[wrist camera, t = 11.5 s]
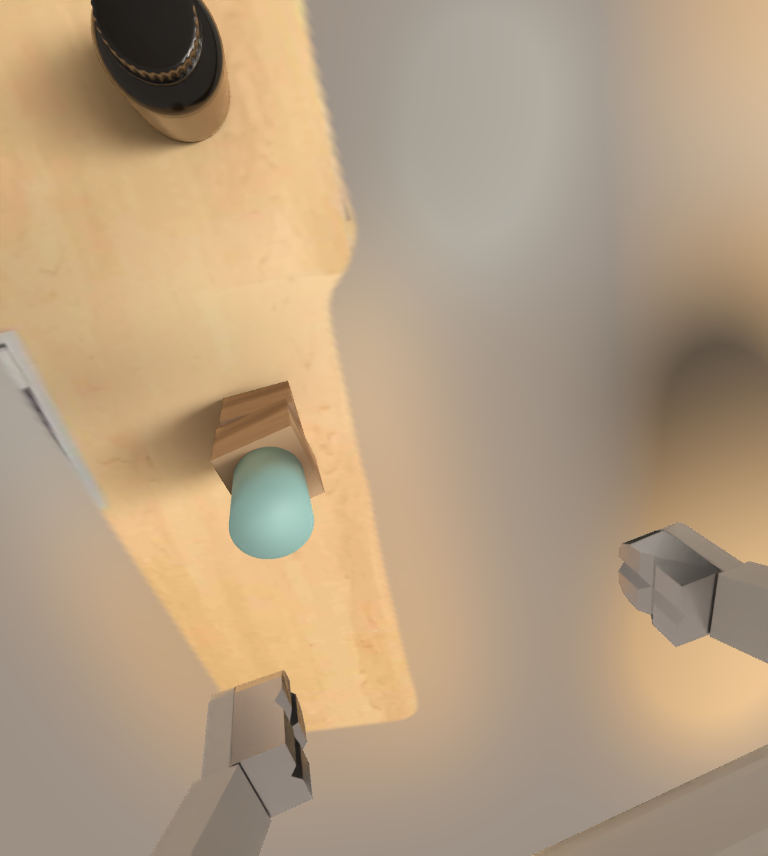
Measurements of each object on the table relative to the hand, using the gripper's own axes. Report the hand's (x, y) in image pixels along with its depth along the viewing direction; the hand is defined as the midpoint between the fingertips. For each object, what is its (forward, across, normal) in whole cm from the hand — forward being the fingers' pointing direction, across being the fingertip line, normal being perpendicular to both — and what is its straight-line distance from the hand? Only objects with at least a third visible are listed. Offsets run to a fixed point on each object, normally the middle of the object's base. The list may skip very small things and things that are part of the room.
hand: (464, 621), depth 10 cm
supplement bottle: (+35, +4, -19) cm, 40 cm away
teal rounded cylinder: (+23, +6, +7) cm, 25 cm away
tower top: (+29, +6, +7) cm, 31 cm away
